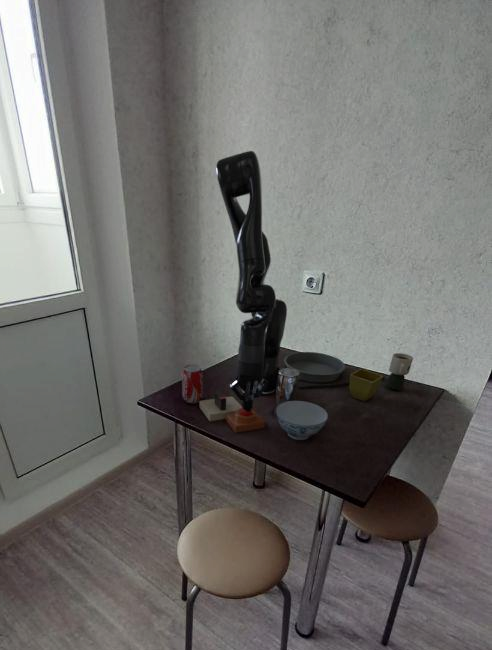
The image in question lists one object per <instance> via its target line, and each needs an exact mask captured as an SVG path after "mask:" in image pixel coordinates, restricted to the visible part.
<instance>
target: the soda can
mask: <svg viewBox="0 0 492 650" xmlns="http://www.w3.org/2000/svg"><path fill="white" fill-rule="evenodd" d="M203 393H204V372H203V371H202V367H201V366H200V365H197V364H188V365H185V366H184V367H183V370H182V372H181V394H182V395H181V396H182V400H183V401H184V402H186V403H188V404H198V403H200V401H203Z"/></svg>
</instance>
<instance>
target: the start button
mask: <svg viewBox="0 0 492 650" xmlns="http://www.w3.org/2000/svg"><path fill="white" fill-rule="evenodd" d="M252 410H253V409H252ZM252 410H251V411H247V412H246V411H245V410H244V409H243V408H241V409H240V415H242V416H251V414H252Z"/></svg>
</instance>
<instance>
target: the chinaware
mask: <svg viewBox="0 0 492 650" xmlns="http://www.w3.org/2000/svg"><path fill="white" fill-rule="evenodd" d="M276 417H277V421H278V424H279V425H280V427H281V428H282V430H283V431H284V432H285V433H287V436H288V437H289V438H291V439H293V440H297V441H305V440H308V439H309V438H310V437H312V436H314V435H316V434H317V433H319V432H320V431H321V430H322V428H323V427H324V426H325V424H326V422H327V420H328V411H326V409H324V408H323V407H321V406H319V404H315V403H313V402H309V401H304V400H303V401H302V400H294V401H289V402H285V403H282V404H280V405H279V406H278V407H277V416H276Z"/></svg>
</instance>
